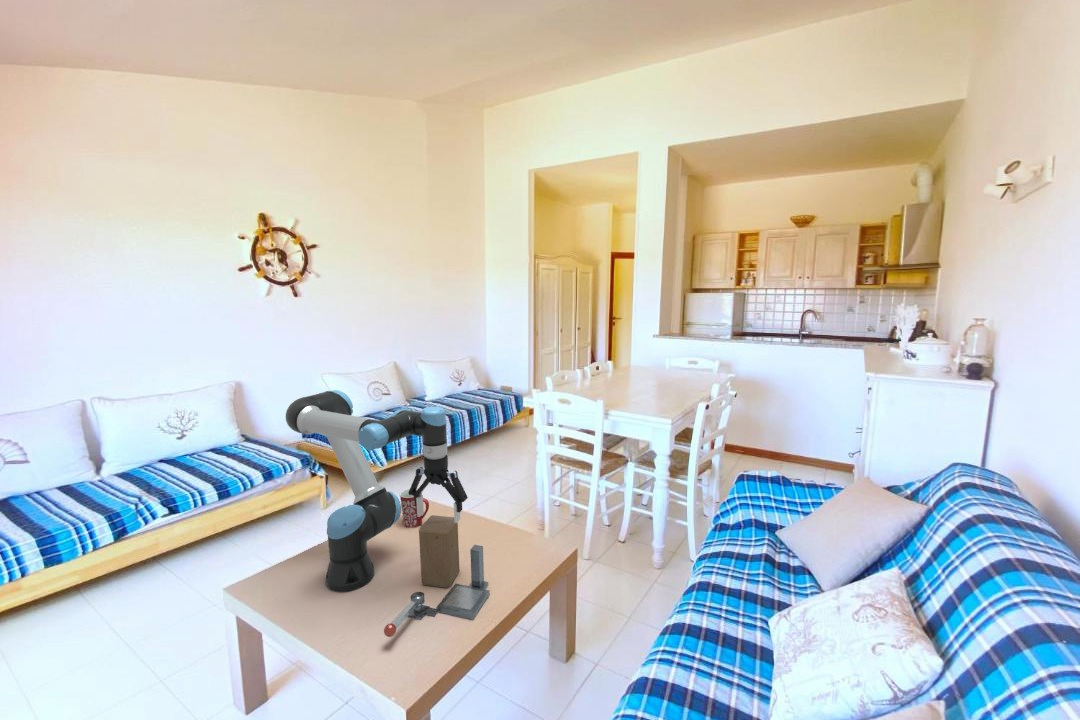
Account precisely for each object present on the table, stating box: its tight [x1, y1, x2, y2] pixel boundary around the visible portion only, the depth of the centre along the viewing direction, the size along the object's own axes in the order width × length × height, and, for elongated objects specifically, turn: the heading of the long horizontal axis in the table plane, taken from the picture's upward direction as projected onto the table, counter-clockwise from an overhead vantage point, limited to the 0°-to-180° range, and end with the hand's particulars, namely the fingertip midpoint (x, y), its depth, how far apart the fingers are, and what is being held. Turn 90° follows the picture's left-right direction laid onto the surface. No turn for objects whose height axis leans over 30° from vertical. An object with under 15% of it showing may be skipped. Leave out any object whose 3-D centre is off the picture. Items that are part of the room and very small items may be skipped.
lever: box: [383, 591, 425, 638], centre depth 136 cm, size 4×17×3 cm, turn 162°
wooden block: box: [418, 514, 461, 588], centre depth 158 cm, size 10×10×20 cm
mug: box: [399, 487, 430, 529], centre depth 194 cm, size 13×9×14 cm
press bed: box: [407, 544, 491, 621], centre depth 147 cm, size 20×21×14 cm
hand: (438, 518), depth 156 cm, fingers open, 13 cm apart
